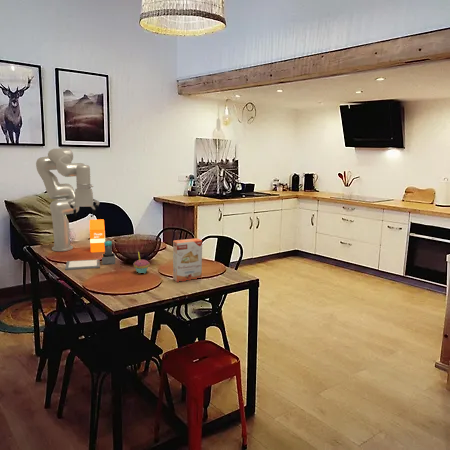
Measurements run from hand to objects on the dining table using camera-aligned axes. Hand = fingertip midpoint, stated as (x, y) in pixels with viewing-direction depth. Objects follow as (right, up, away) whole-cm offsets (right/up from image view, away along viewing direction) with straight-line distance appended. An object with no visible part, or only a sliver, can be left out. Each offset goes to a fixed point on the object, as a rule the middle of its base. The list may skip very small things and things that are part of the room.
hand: (84, 216), depth 252 cm
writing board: (+1, -28, -6) cm, 29 cm away
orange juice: (+1, -22, +24) cm, 32 cm away
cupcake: (+36, -31, -17) cm, 51 cm away
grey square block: (+14, -27, -1) cm, 30 cm away
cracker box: (+62, -34, -26) cm, 75 cm away
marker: (+14, -26, -1) cm, 30 cm away
